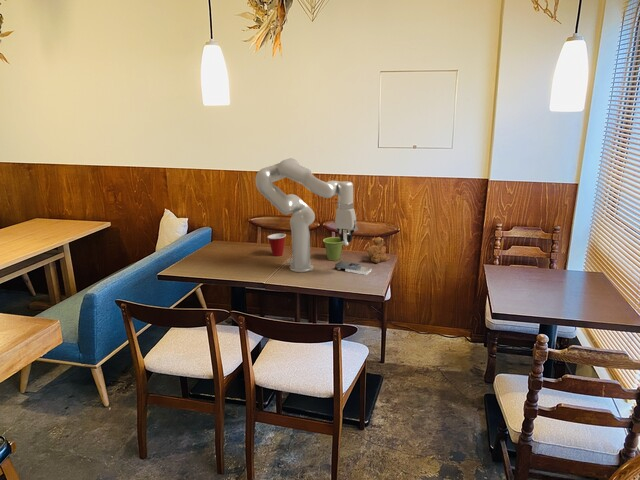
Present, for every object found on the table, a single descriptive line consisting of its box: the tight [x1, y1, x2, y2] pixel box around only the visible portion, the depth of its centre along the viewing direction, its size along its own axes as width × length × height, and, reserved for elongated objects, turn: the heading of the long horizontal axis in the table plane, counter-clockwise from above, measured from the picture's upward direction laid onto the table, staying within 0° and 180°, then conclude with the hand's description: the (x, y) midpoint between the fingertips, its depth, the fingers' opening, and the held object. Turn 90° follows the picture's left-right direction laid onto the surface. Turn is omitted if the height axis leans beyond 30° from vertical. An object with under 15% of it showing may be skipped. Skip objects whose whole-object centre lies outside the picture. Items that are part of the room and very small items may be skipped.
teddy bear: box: [366, 236, 391, 264], centre depth 271 cm, size 10×14×13 cm
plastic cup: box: [267, 233, 287, 257], centre depth 283 cm, size 11×11×12 cm
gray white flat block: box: [334, 260, 373, 276], centre depth 257 cm, size 18×7×3 cm, turn 62°
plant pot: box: [322, 236, 344, 261], centre depth 275 cm, size 12×12×11 cm
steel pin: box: [342, 229, 350, 246], centre depth 247 cm, size 3×3×8 cm
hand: (346, 241), depth 248 cm, fingers closed on steel pin, 3 cm apart
